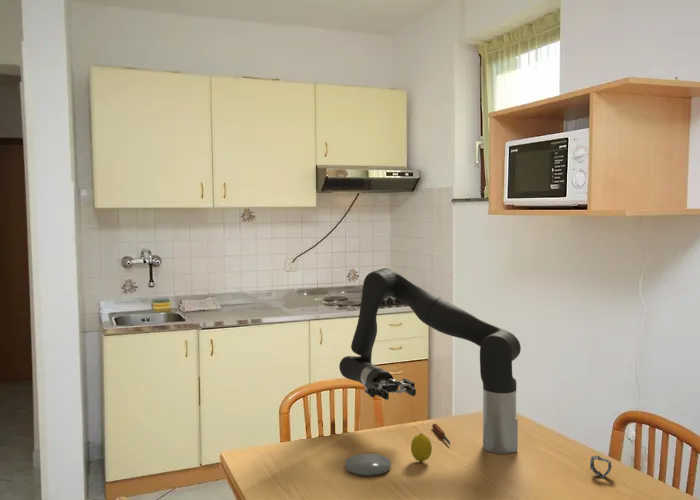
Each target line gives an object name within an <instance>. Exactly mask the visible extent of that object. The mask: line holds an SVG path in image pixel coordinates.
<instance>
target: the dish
mask: <svg viewBox="0 0 700 500" xmlns="http://www.w3.org/2000/svg"><path fill="white" fill-rule="evenodd" d="M344 465H345V469H346V470H347V471H348V472H350V473H352V474H353V475H354V474H355V475H359V476H366V477H367V476H378V475H381V474H385V473H386V472H388V471H390V469H391V467H392V466H391V465H392V464H391V459H389V458H388V457H386V456H384V455H380V454H378V453H359V454H355V455H352V456H350V457H348V458H347V459H346V460H345V463H344Z"/></svg>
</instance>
